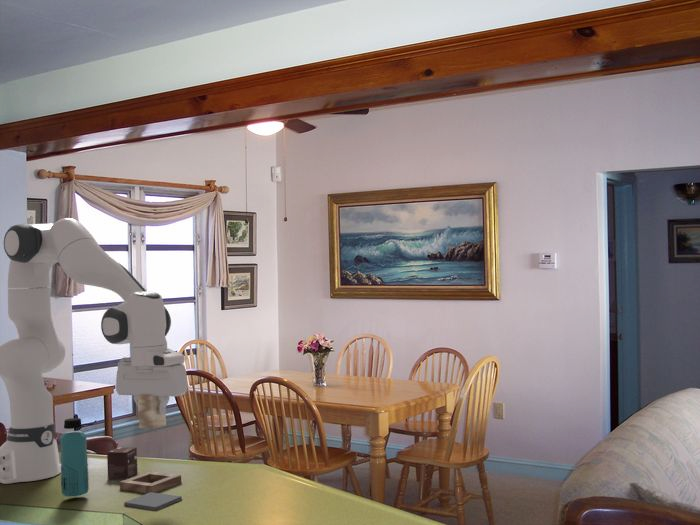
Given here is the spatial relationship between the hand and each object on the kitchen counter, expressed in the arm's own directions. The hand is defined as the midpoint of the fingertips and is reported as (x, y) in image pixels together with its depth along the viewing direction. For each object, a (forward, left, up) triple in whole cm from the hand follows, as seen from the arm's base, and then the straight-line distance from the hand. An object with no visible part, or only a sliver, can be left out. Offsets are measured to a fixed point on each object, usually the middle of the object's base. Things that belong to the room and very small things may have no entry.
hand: (152, 413), depth 185 cm
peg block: (0, 0, -3) cm, 3 cm away
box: (-25, +14, -21) cm, 36 cm away
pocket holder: (-10, +9, -21) cm, 25 cm away
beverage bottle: (-20, -7, -21) cm, 30 cm away
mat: (+1, -2, -21) cm, 21 cm away
